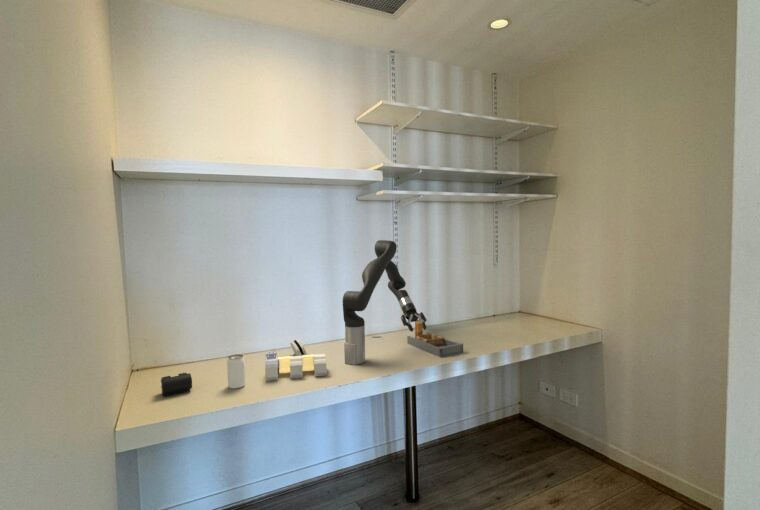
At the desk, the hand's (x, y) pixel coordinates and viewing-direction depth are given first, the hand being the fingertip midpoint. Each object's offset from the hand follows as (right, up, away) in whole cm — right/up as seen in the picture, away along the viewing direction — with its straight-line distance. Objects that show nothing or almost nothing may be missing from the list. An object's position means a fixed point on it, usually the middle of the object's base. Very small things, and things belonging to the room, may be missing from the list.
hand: (418, 329), depth 216 cm
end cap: (-100, -12, -65) cm, 120 cm away
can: (-79, -11, -60) cm, 100 cm away
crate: (+3, -6, -6) cm, 9 cm away
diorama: (-57, -11, -48) cm, 75 cm away
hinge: (-61, -9, -24) cm, 66 cm away
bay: (+7, -7, -12) cm, 15 cm away
